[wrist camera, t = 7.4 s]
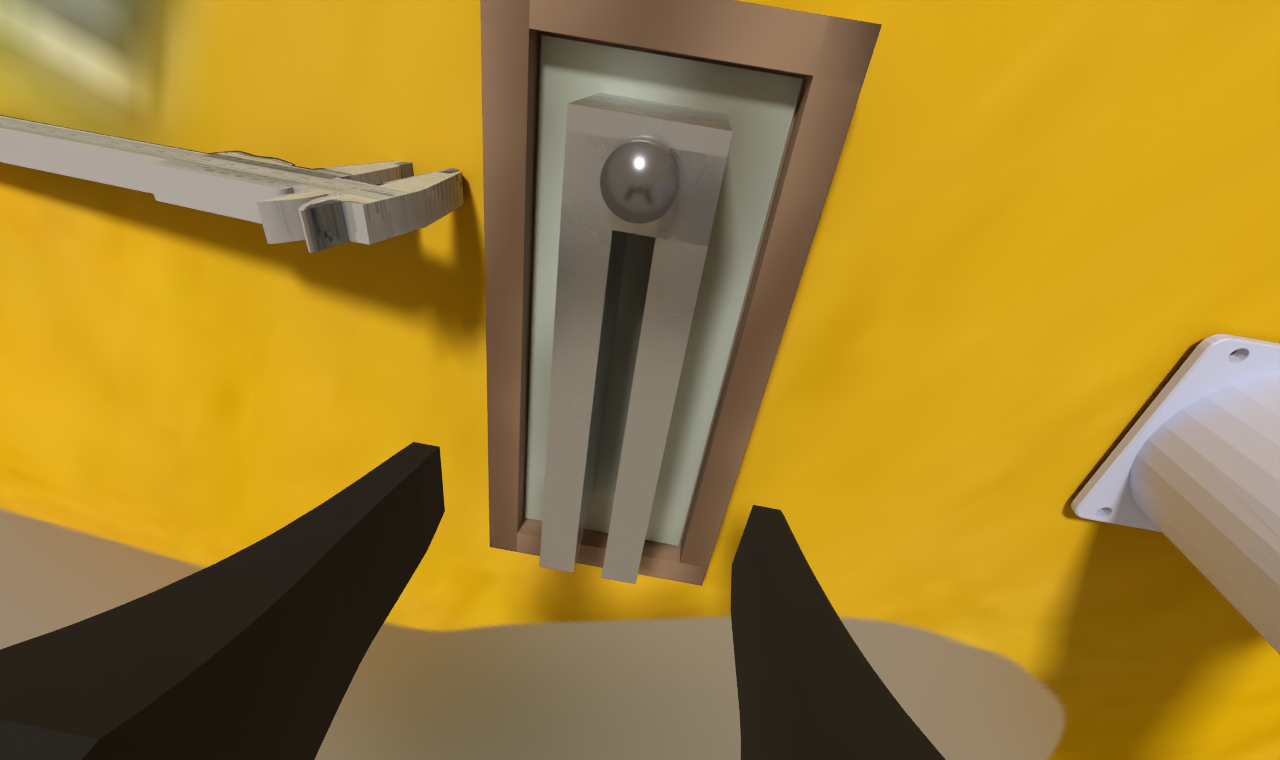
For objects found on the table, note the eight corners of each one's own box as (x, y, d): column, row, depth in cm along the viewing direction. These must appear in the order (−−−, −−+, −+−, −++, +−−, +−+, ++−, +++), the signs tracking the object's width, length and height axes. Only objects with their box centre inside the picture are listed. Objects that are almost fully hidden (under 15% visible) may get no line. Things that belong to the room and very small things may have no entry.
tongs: (726, 113, 14) (733, 134, 10) (646, 501, 22) (633, 599, 18) (600, 92, 14) (560, 105, 10) (565, 487, 22) (534, 580, 18)
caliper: (469, 165, 17) (361, 214, 12) (472, 200, 18) (369, 262, 12) (-121, 94, 18) (-474, 109, 12) (-99, 130, 18) (-429, 159, 13)
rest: (860, 29, 14) (881, 24, 12) (702, 549, 25) (701, 585, 23) (507, -30, 14) (479, -42, 12) (504, 513, 25) (489, 546, 23)
